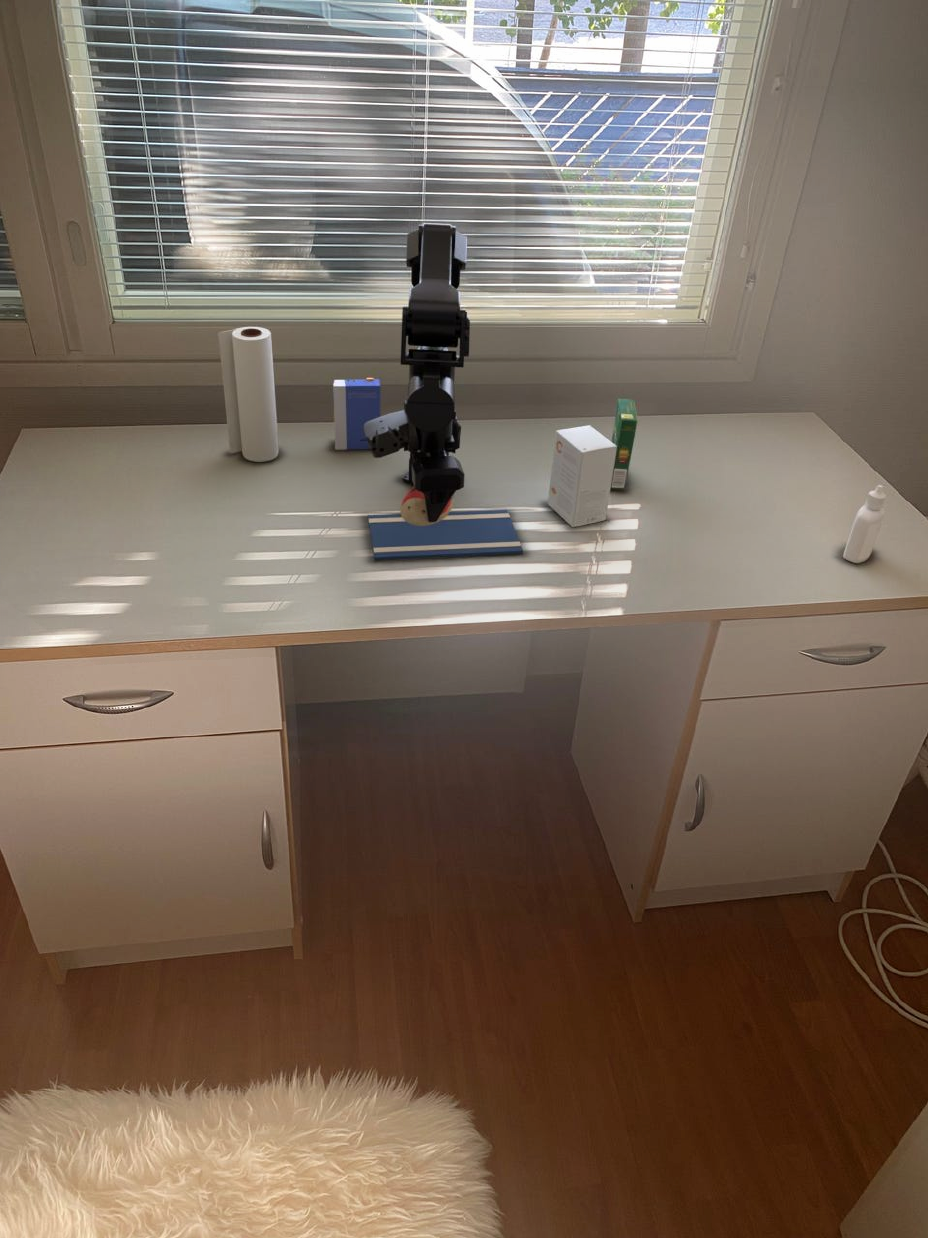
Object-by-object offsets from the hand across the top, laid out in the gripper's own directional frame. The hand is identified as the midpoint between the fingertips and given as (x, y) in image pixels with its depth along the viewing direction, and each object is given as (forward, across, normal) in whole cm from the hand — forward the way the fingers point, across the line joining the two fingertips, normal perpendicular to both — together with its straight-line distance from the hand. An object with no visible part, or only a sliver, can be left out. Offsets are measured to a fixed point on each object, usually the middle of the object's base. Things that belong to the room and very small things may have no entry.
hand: (427, 504), depth 133 cm
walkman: (+11, -40, -6) cm, 42 cm away
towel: (+11, -9, +4) cm, 15 cm away
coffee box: (+11, -24, +36) cm, 45 cm away
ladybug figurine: (+1, 0, 0) cm, 1 cm away
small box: (+11, -14, +26) cm, 32 cm away
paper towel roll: (+11, -38, -23) cm, 46 cm away
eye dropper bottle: (+11, +2, +67) cm, 68 cm away
